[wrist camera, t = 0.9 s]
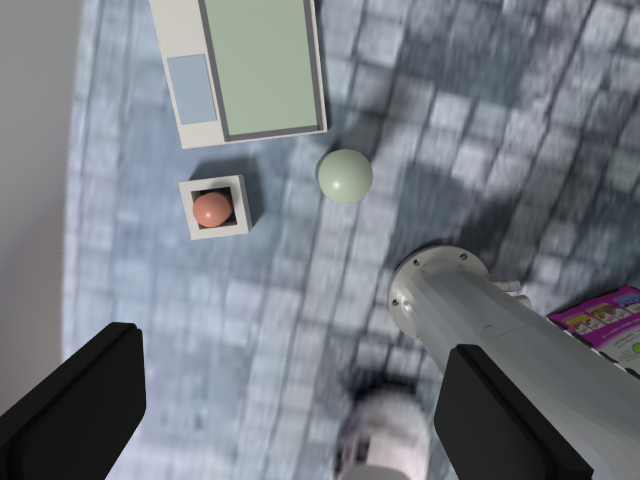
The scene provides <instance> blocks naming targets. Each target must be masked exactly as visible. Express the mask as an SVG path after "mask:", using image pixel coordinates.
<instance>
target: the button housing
mask: <svg viewBox="0 0 640 480" xmlns="http://www.w3.org/2000/svg"><path fill="white" fill-rule="evenodd" d="M222 187H230V189H231V194H232V199H233V205H234V210H235V215H236V220H237V221H231V222H223V223H221V224H220V225H218V226H216V227H206V226H203V225H201V224H200V223H198V222H197V220H196V219H195V217H194V215H193V204H194V202H195V201H196V199H198V198H199V197H201V194H200V190H206V189H214V188H222ZM179 188H180V192H181V196H182V200H183V204H184V209H185V213H186V217H187V221H188V226H189V230H190V234H191V238H192V240H196V239H204V238H212V237H220V236H229V235H237V234H245V233H249V232H250V231H251V229H252V228H253V226H252V220H251V215H250V209H249V204H248V198H247V192H246V187H245V181H244V176H243V174H239V175H231V176H223V177H214V178H206V179H198V180H190V181H184V182H179Z"/></svg>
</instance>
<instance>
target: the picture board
mask: <svg viewBox="0 0 640 480" xmlns="http://www.w3.org/2000/svg"><path fill="white" fill-rule="evenodd" d="M149 1H150V6H151V10H152V15H153V19H154V24H155V28H156V32H157V37H158V41H159V46H160V50H161V55H162V59H163V63H164V68H165V72H166V77H167V81H168V86H169V90H170V94H171V99H172V103H173V108H174V112H175V117H176V121H177V126H178V130H179V134H180V139H181V143H182V148H183V149H190V148H198V147H207V146H215V145H224V144H232V143H240V142H249V141H257V140H265V139H274V138H282V137H291V136H299V135H307V134H316V133H324V132H327V124H326V114H325V104H324V95H323V85H322V75H321V66H320V56H319V46H318V37H317V27H316V17H315V8H314V0H149Z"/></svg>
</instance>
